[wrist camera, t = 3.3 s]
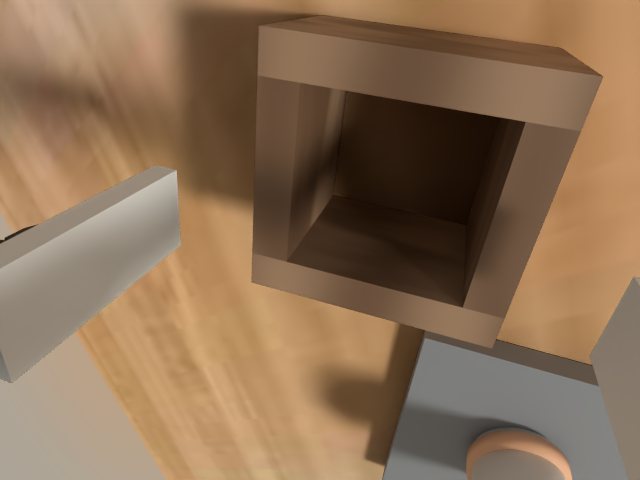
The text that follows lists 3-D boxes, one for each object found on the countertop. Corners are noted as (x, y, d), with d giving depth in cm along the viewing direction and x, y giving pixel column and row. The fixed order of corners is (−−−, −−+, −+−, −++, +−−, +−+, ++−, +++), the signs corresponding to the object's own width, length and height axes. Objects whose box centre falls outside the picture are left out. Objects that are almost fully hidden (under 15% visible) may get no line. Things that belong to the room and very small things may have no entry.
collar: (304, 214, 25) (251, 282, 19) (322, 14, 20) (258, 25, 14) (488, 257, 23) (492, 348, 17) (561, 48, 18) (603, 76, 12)
